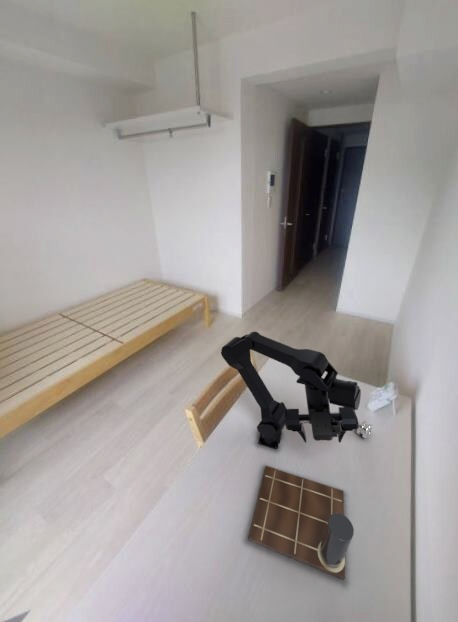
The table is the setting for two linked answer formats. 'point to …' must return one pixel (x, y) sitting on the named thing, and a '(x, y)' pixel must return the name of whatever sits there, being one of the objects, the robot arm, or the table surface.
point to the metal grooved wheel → (364, 429)
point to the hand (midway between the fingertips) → (322, 441)
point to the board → (295, 517)
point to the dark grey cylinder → (336, 540)
